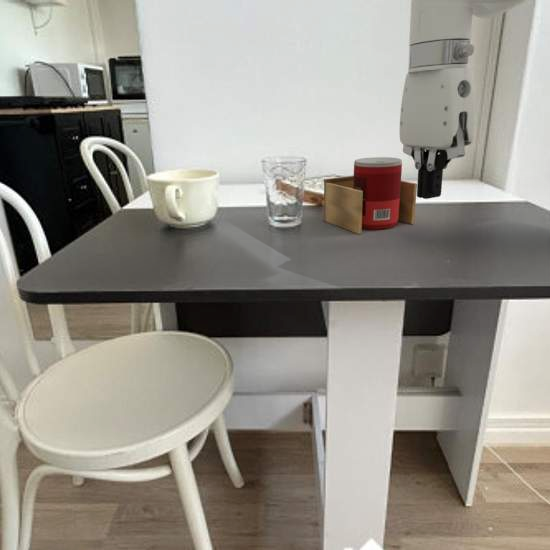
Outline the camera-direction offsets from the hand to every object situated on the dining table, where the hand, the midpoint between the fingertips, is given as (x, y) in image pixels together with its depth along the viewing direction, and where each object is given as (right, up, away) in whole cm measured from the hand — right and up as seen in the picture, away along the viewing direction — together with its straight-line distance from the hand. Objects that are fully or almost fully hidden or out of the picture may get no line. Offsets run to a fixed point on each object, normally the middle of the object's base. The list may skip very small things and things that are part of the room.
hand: (428, 196), depth 65 cm
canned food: (-5, -3, +12) cm, 14 cm away
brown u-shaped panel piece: (-6, -2, +14) cm, 15 cm away
